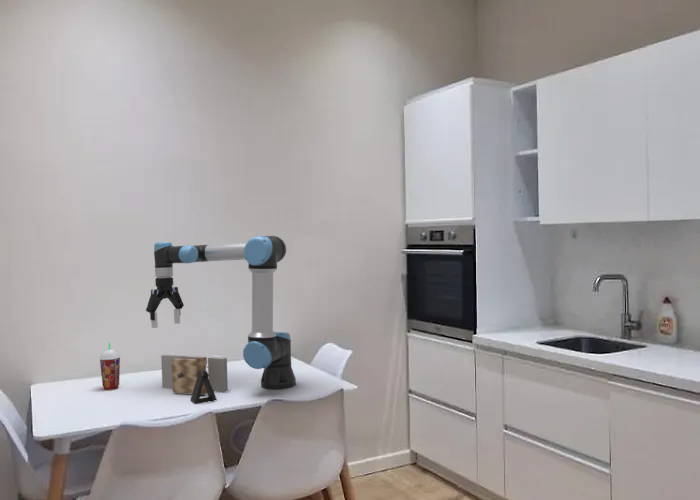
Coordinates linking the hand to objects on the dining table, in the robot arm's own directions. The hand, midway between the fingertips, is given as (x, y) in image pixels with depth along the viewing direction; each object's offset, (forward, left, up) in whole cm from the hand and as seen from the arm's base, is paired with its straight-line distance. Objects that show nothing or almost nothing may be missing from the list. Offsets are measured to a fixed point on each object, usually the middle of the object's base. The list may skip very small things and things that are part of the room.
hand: (166, 325), depth 274 cm
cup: (-1, -35, -27) cm, 44 cm away
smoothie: (+23, +9, -27) cm, 37 cm away
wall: (-15, +1, -27) cm, 31 cm away
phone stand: (-30, +16, -27) cm, 43 cm away
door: (-18, +10, -26) cm, 33 cm away
